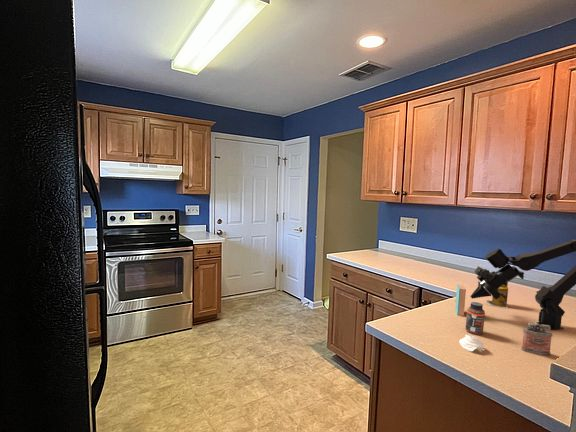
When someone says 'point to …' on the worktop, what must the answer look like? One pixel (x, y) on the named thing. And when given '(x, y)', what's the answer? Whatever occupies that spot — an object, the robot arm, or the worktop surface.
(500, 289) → the condiment
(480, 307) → the supplement bottle
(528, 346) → the lighter
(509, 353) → the worktop surface
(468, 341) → the whipped cream
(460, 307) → the tile
